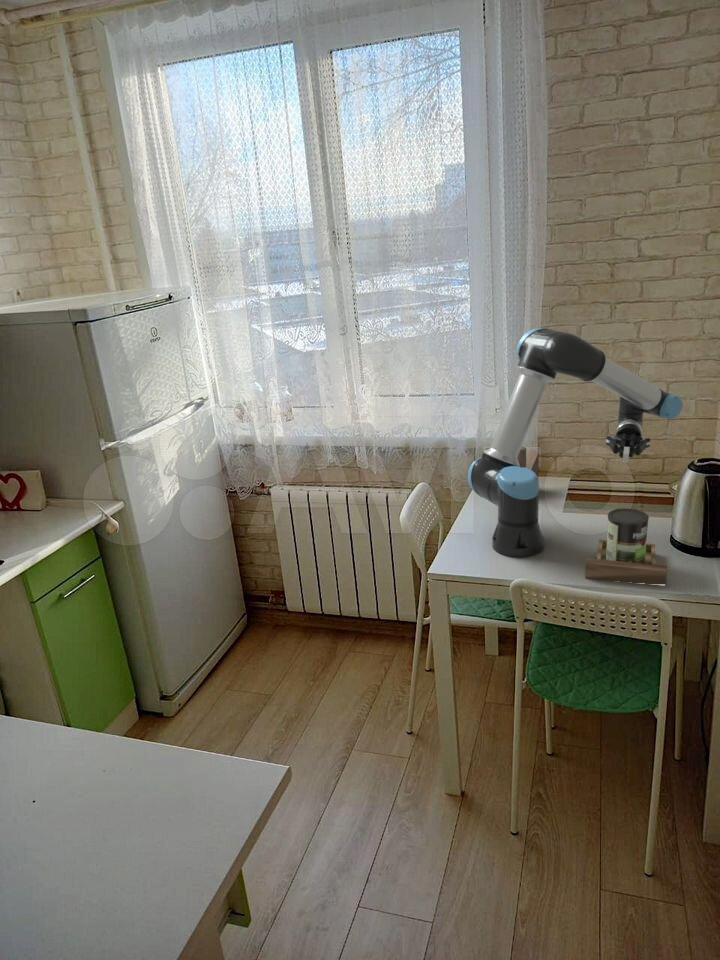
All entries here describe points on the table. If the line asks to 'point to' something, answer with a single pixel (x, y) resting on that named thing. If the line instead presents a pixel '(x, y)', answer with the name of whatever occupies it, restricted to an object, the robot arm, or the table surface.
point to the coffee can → (627, 535)
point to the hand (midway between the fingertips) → (625, 458)
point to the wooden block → (529, 460)
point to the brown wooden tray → (649, 556)
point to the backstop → (625, 571)
